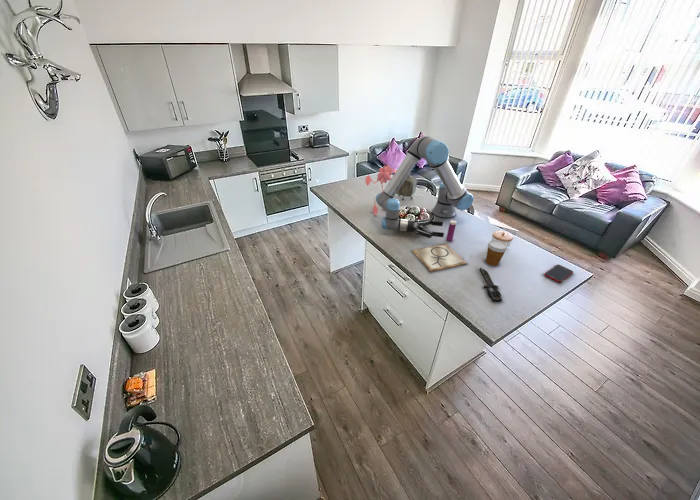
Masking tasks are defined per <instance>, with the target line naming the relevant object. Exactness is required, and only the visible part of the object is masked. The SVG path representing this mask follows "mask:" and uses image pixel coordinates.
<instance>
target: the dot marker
mask: <svg viewBox="0 0 700 500" xmlns="http://www.w3.org/2000/svg"><path fill="white" fill-rule="evenodd" d="M456 227H457V220H454V219H451V220H450V221H449V225H448V229H447V233H446V241H447V242H449V243H450V242H452V241H453V239H454V235H455V231H456Z"/></svg>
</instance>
